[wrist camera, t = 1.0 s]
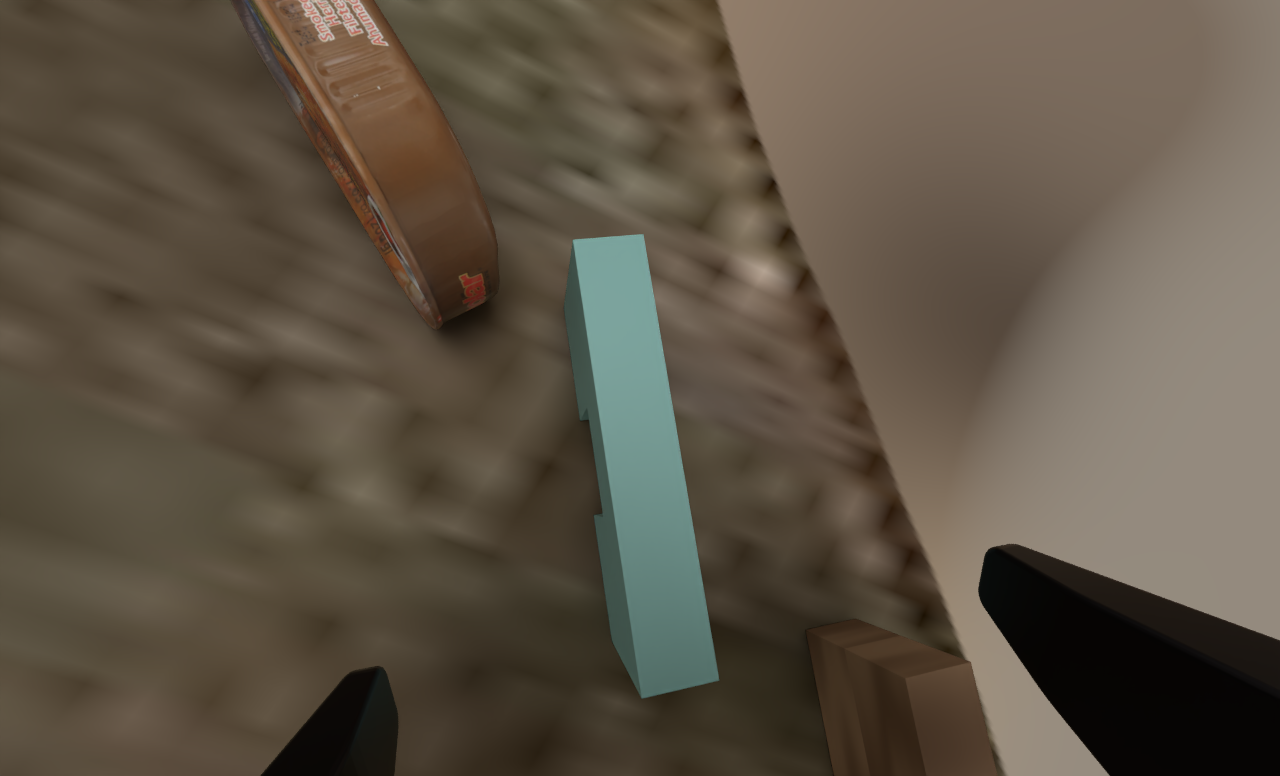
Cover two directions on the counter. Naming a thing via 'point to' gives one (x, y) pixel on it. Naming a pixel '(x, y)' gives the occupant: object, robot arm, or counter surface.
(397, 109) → the tin
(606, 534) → the notched teal slat
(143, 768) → the counter surface
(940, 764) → the notched walnut block
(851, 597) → the counter surface
